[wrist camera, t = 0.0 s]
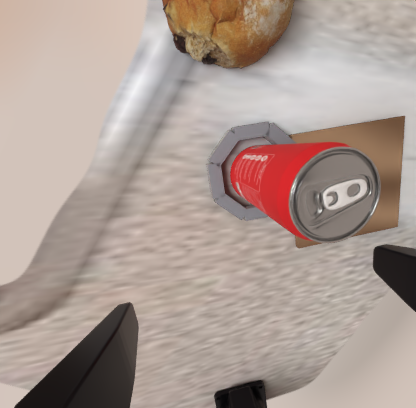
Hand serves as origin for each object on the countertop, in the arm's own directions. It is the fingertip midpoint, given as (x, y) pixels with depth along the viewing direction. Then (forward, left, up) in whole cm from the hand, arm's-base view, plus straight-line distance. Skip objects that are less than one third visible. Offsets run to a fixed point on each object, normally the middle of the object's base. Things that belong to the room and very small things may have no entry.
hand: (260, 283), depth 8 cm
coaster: (-1, -15, -15) cm, 21 cm away
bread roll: (+16, -4, -15) cm, 22 cm away
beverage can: (+2, -5, -15) cm, 16 cm away
